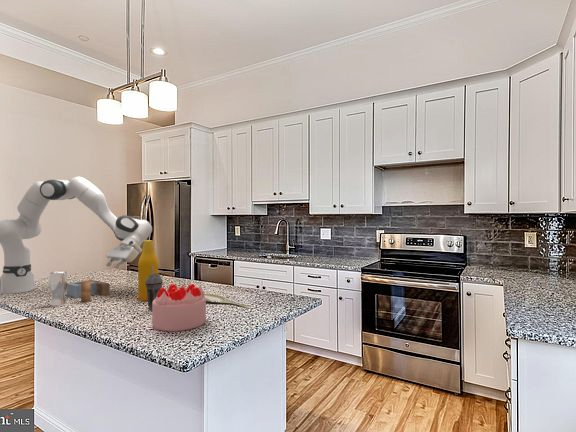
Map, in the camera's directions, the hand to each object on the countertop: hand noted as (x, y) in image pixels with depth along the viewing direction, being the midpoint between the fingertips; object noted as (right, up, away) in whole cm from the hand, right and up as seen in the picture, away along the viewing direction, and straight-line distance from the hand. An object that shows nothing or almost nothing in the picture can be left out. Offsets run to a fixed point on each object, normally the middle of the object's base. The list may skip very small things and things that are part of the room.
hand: (111, 266), depth 175 cm
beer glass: (-16, -16, -16) cm, 28 cm away
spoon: (+61, -16, -13) cm, 64 cm away
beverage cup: (+31, -16, -22) cm, 41 cm away
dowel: (-7, -15, -10) cm, 20 cm away
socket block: (-17, -15, +3) cm, 23 cm away
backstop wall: (-12, -15, +8) cm, 21 cm away
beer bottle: (+21, -16, -5) cm, 26 cm away
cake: (+48, -16, -43) cm, 66 cm away
